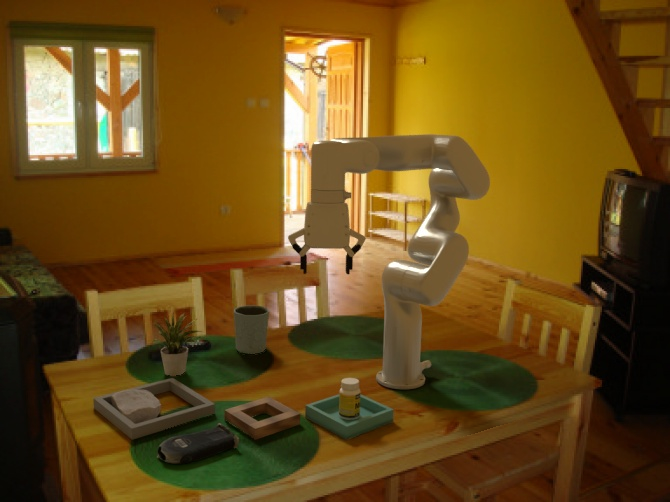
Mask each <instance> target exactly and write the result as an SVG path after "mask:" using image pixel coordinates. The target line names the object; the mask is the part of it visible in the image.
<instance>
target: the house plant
mask: <svg viewBox="0 0 670 502" xmlns="http://www.w3.org/2000/svg"><path fill="white" fill-rule="evenodd" d="M184 315H185V312H184V313H182V314H180V316H179V317H178V318H177V321H176V323H175V311H173V312H172V315H171V323H170V320H168V319H167V317H165V316H163V317H164V320H162V319H160V318H159V320H160V321H162V322H163V323H164V324H165V326H166V329H167V330H165V329H164V327H163V326H162V325H161V324H160V323H159V322H158V321H156V320H154V322H153V321H151V325H153V326H155V327H156V328H157V329H158V330H159V331H158V332H157V333H158V334H159V335H160V336H161V337H163V339H165V341H166V342H163V341H162V339H161V340H160V339H158V338H154V339H153V340H152V341H151V344H153V345H152V347H153V346H155V345H157V344H164V347H163V348H161V349H160V355H161V360H162V364H163V370H164V375H166V376H168V375H170V376H169V377H177V376H176V375H180V376H182V375H181V374H183V373H184V372H185V373H186V368H187V360H188V354H189V348H188V347H187V346H184V344H185V343H195V344H197V343H196V341H195V340H197V341H199V342H200V339H199V338H198V337H197V336H194V335H193V336H190V335H191V334H195V333H202V332H204V331H202V330H190V329H192V328H191V327H194V326H196V325H194V324H192V323H193V322H194V321H195V322H196V321H197V320H198V318H195V319H192V320H191V321H190V322H189V323H187V324H186V326H184V327H183V328H181V327H182V325H183V322H184V319H185V318H186V317H187V316H188V313H187V314H186V315H185V316H184ZM156 319H157V320H158V318H156ZM164 321H165V322H164ZM145 325H150V323H148V322H147V323H145ZM194 339H195V340H194ZM185 373H184V374H185ZM184 374H183V375H184Z"/></svg>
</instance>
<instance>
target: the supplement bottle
mask: <svg viewBox="0 0 670 502" xmlns="http://www.w3.org/2000/svg"><path fill="white" fill-rule="evenodd" d="M340 382H341V383H340V387H341V388H340V389H339V393H338V394H339V416H340V418H342V419H345V420H355V419H358V418H359V416H360V394H361V389H360V380H359V379H357V378H355V377H345V378H342V379H341V381H340Z"/></svg>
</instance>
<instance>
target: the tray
mask: <svg viewBox="0 0 670 502" xmlns="http://www.w3.org/2000/svg"><path fill="white" fill-rule="evenodd" d="M304 408H305V410H304V411H305V416H304V418H306V419H307V420H309V421H311V422H313V423H315V425H316V424H317V426H320V427H322V428H324V429H325V430H327V431H329V432H331V433H333V434H334V435H336V436H339V437H340V438H342V439H344V440H346V441H348V440H350V439H353V438H356V437H358V436H361V435H363V434H366V433H367V432H368V433H369V432H371V431H374V430H376V429H379V428H381V427H384V426H386V425H389V424H391V423H393V422H394V409H393V408H391V407H389V406H387V405H385V404H382V403H380V402H378V401H376V400H374V399H372V398H370V397H367V396H366V395H363V394H361V393H360V416H359V418H358V419H355V420H345V419H342V418H340V416H339V393H338V394H336V395H333V396H332V395H331V396H330V397H326V398H324V399H320V400H317V401H314V402H310V403H308V404H305V406H304Z"/></svg>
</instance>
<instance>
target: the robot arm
mask: <svg viewBox="0 0 670 502" xmlns="http://www.w3.org/2000/svg"><path fill="white" fill-rule="evenodd" d="M310 150H311V151H310V152H311V153H310V154H311V155H310V159H311V160H310V201H309V202H307V204H306V207H305V213H304V225H303V228H301V229H299V230H297V231H295V232H293V233H291V234H289V235H288V236H287V240H288V241H289V243H290V245H291V248H292V249H293V250H294V251H295V252H296V253H297V254H298V256H300V259H299V260H300V263H299V264H300V265H299V266H300V268H299V269H300V270H302V273H303V274H304V275H306V274H307V273H308V271H307V270H308V264H307V263H308V262H307V261H308V259H307V258H308V255H307V253H308V252H309V250H310V249H321V250H322V249H329V250H330V249H332V250H333V249H335V250H336V249H337V250H338V249H339V250H340V249H343V250H344V251H345V253H346V255H345V273H346V274H347V275H350V274H351V273H350V271H352V270H353V267H354V263H353V261H354V260H353V259H354V256H355V255H356V254H357V253H358V252H359V251H360V250H361V249H362V247H363V245H364V244H365V242H366V238H367V237H366V236H365V235H363V234H362V233H359V232H357V231H356V230H353V229H352V228H350V227H351V224H350V223H351V222H350V215H349V213H350V211H349V205H348V202H346V200H348V199H352V192H348V191H347V190H346V174H347V173H350V174H359V175H360V174H362V175H365V174H369V173H371V172H373V171H374V170H376V171H384V172H407V171H408V172H409V171H417V170H419V171H420V170H431V171H430V173H429V176H428V187H429V189H428V190H429V194H430V206H429V209H428V211H427V213H426V216H425V217H424V218H423V220H422V222H421V223H420V225H418V228H417V229H416V231H415V232H414V234H413V235H412V237H411V239H410V240H409V242H408V245H407V255H408V256H409V257H410V259H411V260H413V261H414V262H413V261H410V260H405V259H397V260H393V261H391V262H389V263H388V264H386V266H385V267H384V268H383V270H382V273H381V290H382V293H383V303H384V319H383V326H384V327H383V345H382V349H383V350H382V351H383V352H382V370H379V371H378V372H377V373H376V377H375V379H376V382H377V383H378V384H379V385H381V386H383V387H386V388H389V389H395V390H414V389H417V388H420V387H422V386H424V384H425V383H426V377H425V375H424V374H423V373H422V372H423V371H424V369H425V370H426V369H429V368H431V366H432V362H431V360H429V359H428V360H424V361H422V362H421V346H422V345H421V344H422V326H423V325H422V322H423V314H422V309H421V305H423V306H428V307H435V306H437V305H439V304H440V303H441V302H443V301H444V300H445V298H446V296H448V293H449V292H450V290H451V289H452V287H453V286H454V284H455V282H456V281H457V279H458V278H459V276H460V275H461V272H462V271H463V270H464V267H465V266H466V264H467V261H468V257H469V252H470V246H469V243H468V240H467V239H466V238H465V236H464V235H463V234H460V233H459V232H456V230H457V229H458V226H459V224H460V219H461V217H460V215H461V214H460V210H459V207H458V203H457V199H463V200H470V201H472V200H473V201H476V200H479V199H480V200H481V199H482V198H483V197H485V196H486V195H487V194H488V192H489V189H490V185H491V179H490V175H489V172H488V170H487V168H486V167H485V165H484V164H483V162H482V161H481V159H480V158H479V156H478V155H477V154H476V152H475V151H474V149H473V148H472V147H471V145H470V144H469V143H468V142H467V141H466V139H464V138H462V137H461V136H459V135H451V134H450V135H448V134H434V133H433V134H432V133H431V134H407V135H406V134H405V135H401V134H400V135H399V134H398V135H382V136H367V137H365V136H363V137H335V138H332V139H330V140H316V141H314V142H313V143H312V145H311V149H310ZM301 237H303V241H304V244H303V246H300V245H299V244H298V243H297V240H296V239H299V238H301ZM351 237H353V238H355V239H356V240H357V242H356V244H354V245H353V246H352V247H351V246H350V241H351Z"/></svg>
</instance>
